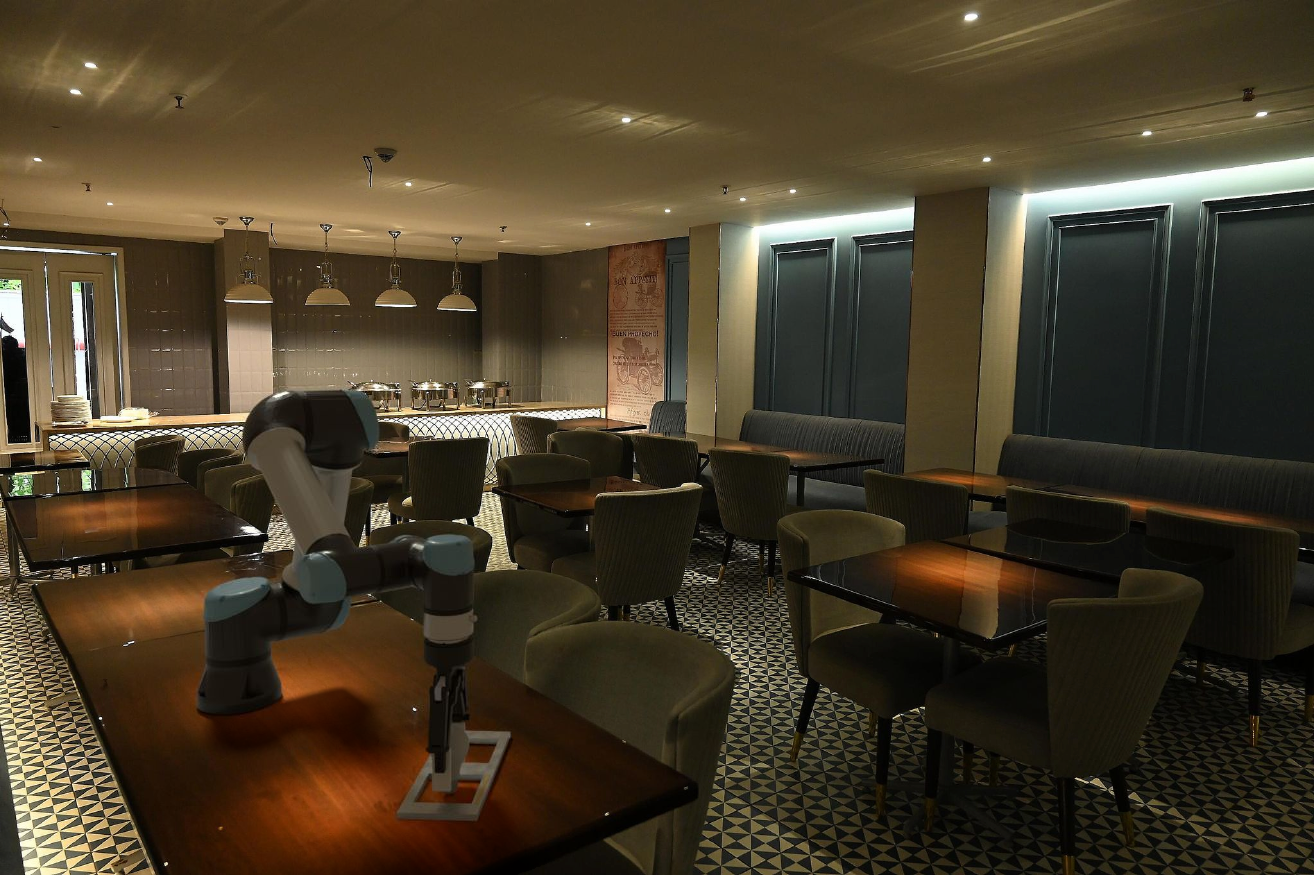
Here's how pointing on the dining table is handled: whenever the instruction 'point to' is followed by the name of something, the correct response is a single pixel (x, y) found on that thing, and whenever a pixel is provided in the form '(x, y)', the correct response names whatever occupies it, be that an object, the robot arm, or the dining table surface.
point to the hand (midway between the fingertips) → (449, 775)
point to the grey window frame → (467, 772)
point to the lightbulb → (457, 754)
